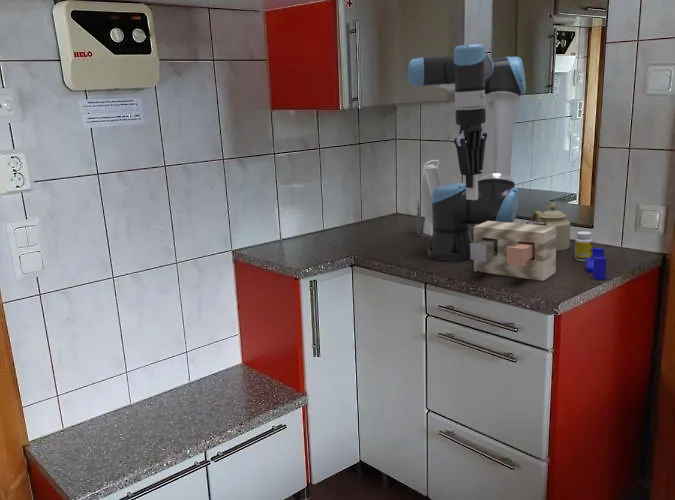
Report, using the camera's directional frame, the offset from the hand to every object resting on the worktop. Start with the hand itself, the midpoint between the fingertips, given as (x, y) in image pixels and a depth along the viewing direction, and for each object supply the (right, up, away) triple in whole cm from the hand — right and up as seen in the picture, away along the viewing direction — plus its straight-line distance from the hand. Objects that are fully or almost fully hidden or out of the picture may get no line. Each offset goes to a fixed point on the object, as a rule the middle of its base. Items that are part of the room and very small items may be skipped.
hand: (472, 199), depth 166 cm
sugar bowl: (+34, -12, +43) cm, 56 cm away
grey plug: (+8, -15, +15) cm, 23 cm away
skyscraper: (0, -8, +71) cm, 71 cm away
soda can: (+25, -17, +27) cm, 41 cm away
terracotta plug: (+16, -16, +8) cm, 24 cm away
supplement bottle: (+39, -17, +25) cm, 49 cm away
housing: (+16, -20, +17) cm, 30 cm away
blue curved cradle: (+37, -20, +11) cm, 44 cm away
